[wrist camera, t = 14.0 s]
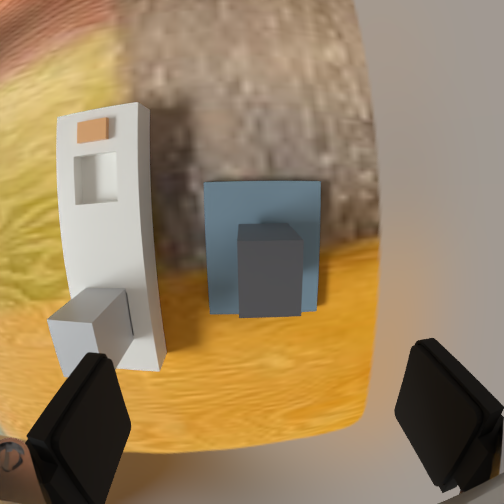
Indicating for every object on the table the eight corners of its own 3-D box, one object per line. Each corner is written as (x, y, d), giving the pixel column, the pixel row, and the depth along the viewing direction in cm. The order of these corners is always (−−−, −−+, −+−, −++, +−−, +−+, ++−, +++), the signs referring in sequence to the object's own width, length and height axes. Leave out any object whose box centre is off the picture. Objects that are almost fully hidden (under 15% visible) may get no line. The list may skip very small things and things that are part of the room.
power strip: (75, 122, 25) (53, 116, 21) (150, 110, 25) (135, 100, 21) (99, 348, 31) (85, 368, 27) (166, 352, 31) (158, 374, 27)
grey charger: (92, 282, 27) (46, 319, 19) (130, 283, 27) (91, 323, 19) (101, 330, 28) (64, 376, 20) (138, 332, 28) (107, 382, 20)
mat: (205, 182, 27) (203, 182, 26) (317, 181, 27) (320, 181, 26) (210, 309, 30) (209, 314, 29) (314, 306, 30) (316, 311, 29)
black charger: (238, 221, 27) (237, 241, 19) (285, 220, 27) (303, 240, 19) (240, 277, 28) (239, 317, 20) (284, 276, 28) (301, 316, 20)
